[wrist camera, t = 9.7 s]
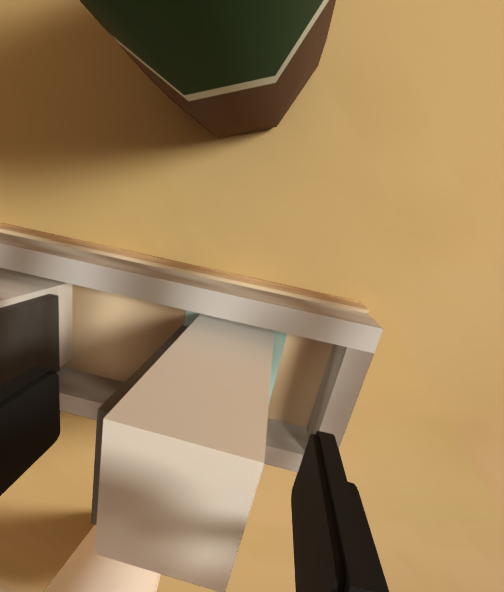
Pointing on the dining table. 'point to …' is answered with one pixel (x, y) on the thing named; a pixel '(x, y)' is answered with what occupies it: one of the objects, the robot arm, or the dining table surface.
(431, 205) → the dining table surface
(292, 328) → the finger rail
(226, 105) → the beer bottle
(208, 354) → the white foam block
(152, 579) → the foam cup
